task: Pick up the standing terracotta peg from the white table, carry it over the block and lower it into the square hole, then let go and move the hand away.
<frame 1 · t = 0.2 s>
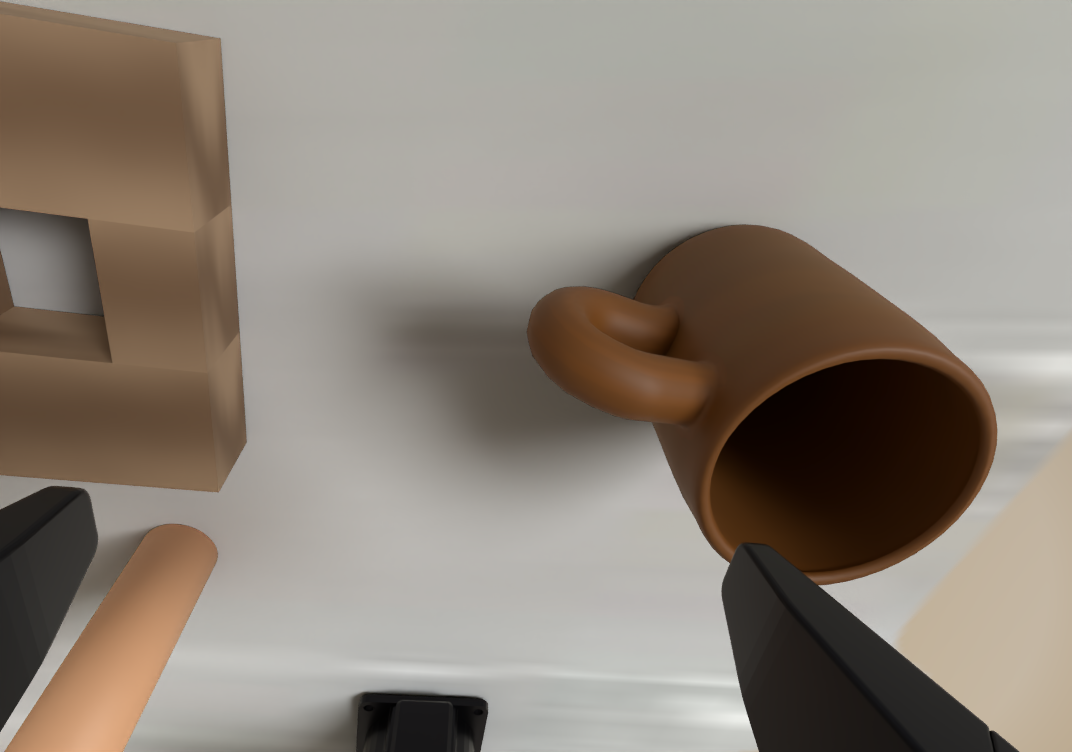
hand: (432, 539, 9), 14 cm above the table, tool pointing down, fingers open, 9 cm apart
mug: (670, 296, 23), on the table
hole block: (74, 251, 21), on the table
peg: (180, 551, 27), on the table
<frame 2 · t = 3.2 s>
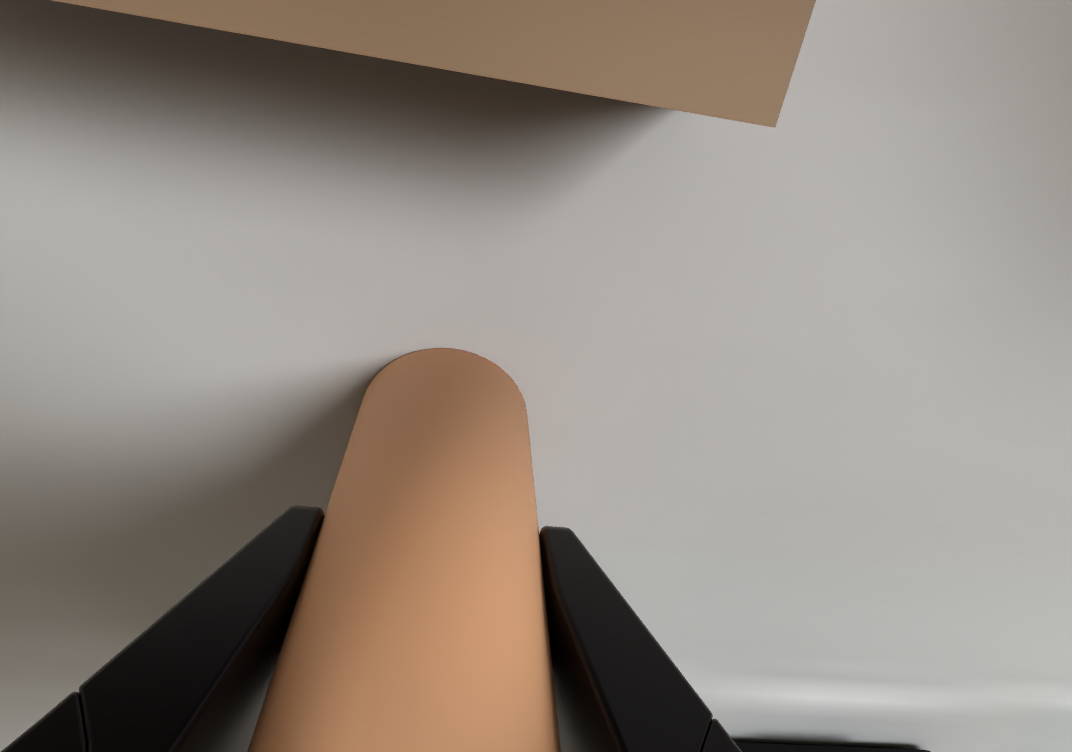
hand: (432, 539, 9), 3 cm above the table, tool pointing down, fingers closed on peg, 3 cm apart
peg: (444, 422, 12), on the table, touching gripper
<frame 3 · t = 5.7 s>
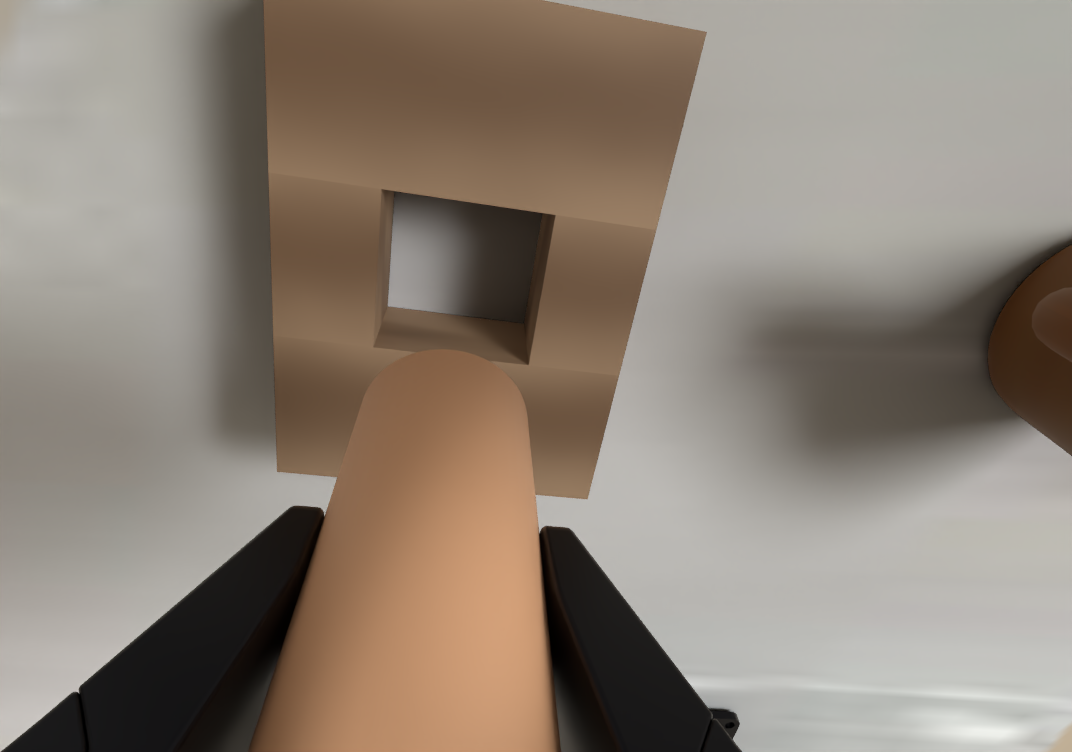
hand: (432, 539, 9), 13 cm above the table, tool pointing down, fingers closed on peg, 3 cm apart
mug: (1035, 298, 23), on the table
hole block: (464, 249, 20), on the table
peg: (444, 423, 12), point 10 cm above the table, touching gripper
when the fingers open (4 cm above the table, at t = 8.6 s): peg drops 1 cm, resting in hole block.
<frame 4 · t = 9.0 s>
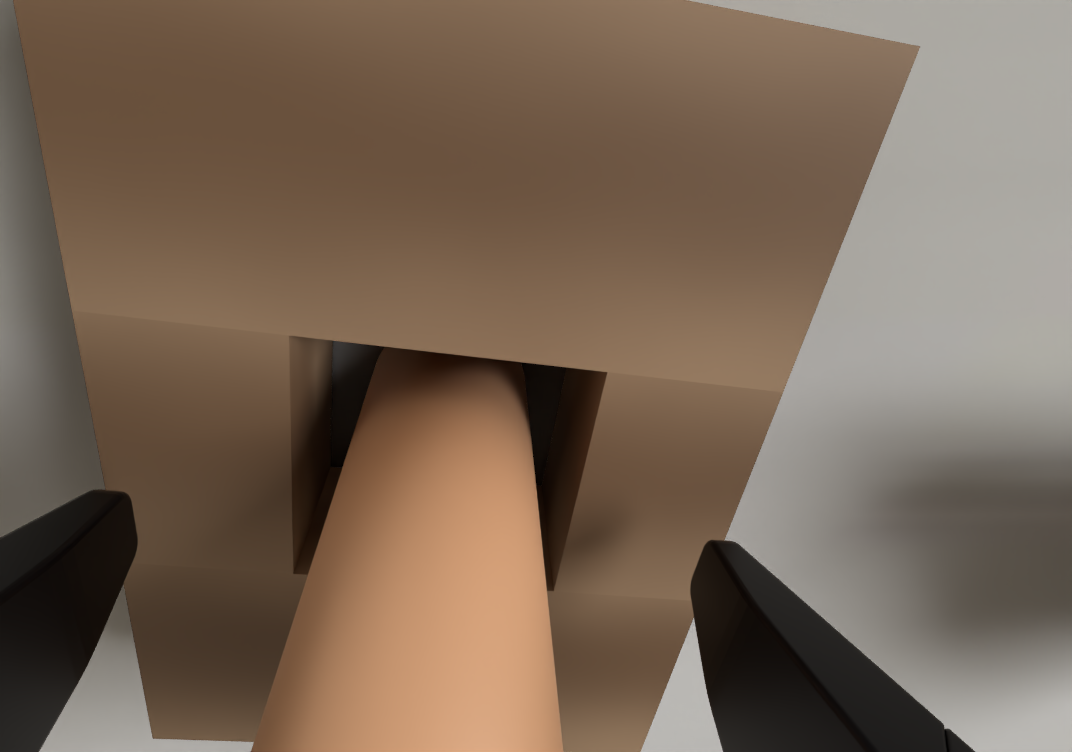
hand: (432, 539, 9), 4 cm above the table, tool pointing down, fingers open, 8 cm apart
hole block: (448, 386, 13), on the table
peg: (449, 386, 13), resting in hole block
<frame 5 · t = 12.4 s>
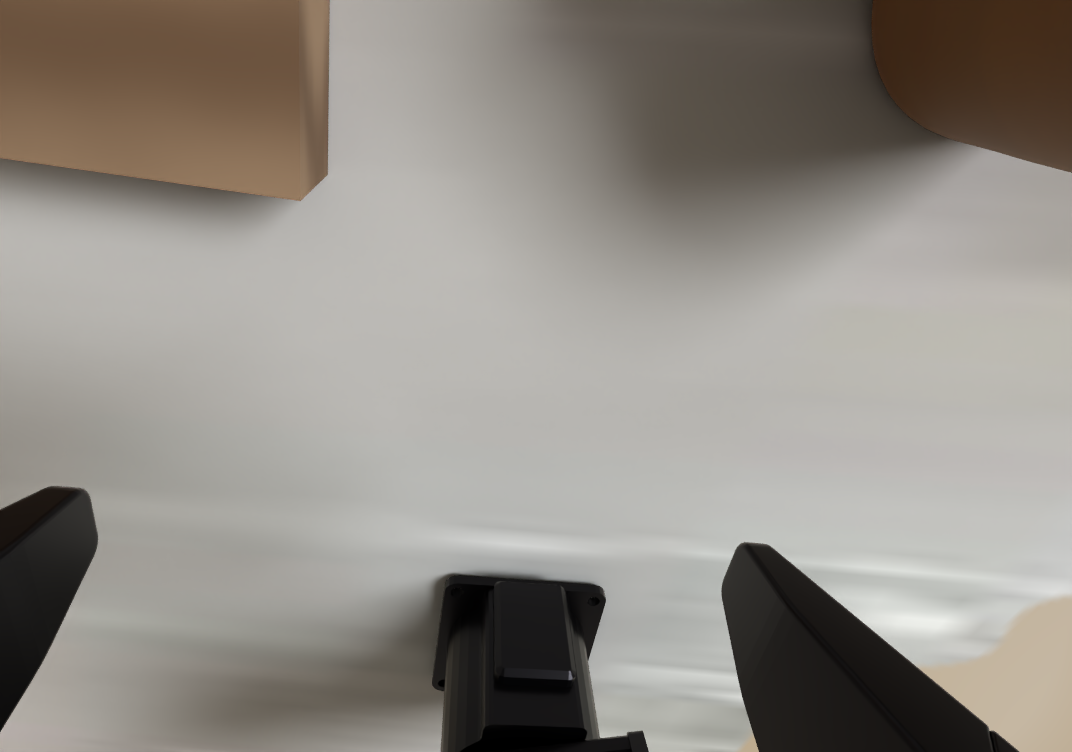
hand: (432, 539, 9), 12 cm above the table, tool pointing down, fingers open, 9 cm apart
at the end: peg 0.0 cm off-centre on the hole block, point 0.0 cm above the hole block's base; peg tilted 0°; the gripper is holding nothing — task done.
